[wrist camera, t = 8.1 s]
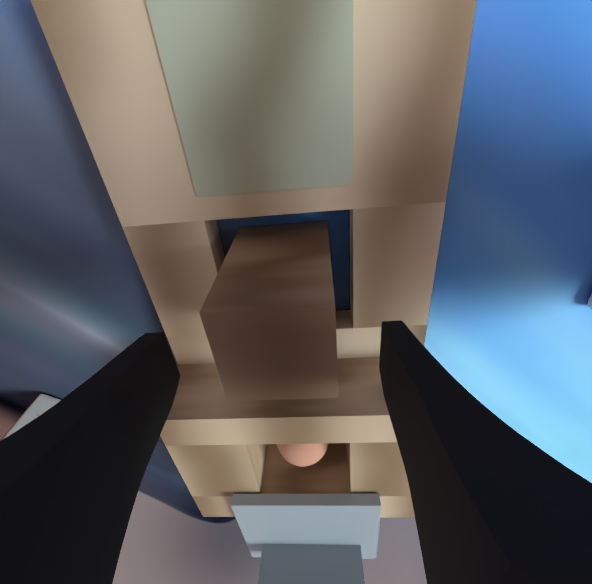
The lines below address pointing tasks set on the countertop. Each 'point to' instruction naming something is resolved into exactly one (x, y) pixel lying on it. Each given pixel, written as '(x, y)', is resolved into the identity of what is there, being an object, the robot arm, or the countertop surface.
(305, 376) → the walnut block
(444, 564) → the robot arm
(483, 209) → the countertop surface
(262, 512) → the lid
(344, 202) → the puzzle board
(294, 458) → the ball
